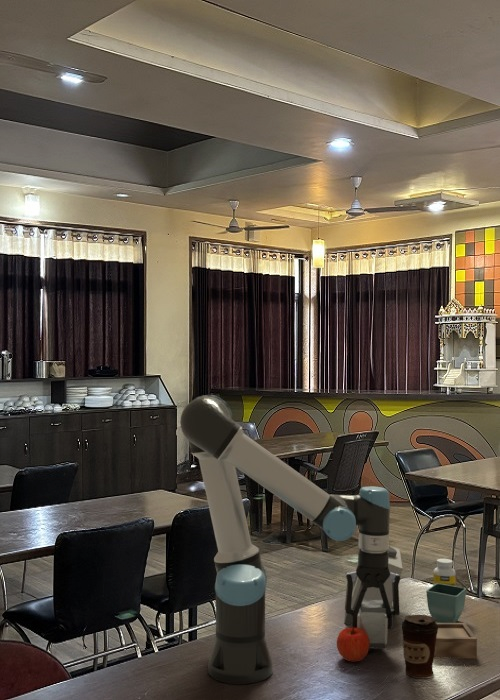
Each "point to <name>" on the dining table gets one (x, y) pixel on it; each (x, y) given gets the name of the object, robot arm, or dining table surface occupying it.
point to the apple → (353, 644)
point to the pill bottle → (445, 572)
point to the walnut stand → (455, 641)
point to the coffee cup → (419, 644)
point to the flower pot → (445, 602)
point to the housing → (373, 622)
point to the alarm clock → (373, 592)
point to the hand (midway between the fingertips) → (371, 641)
